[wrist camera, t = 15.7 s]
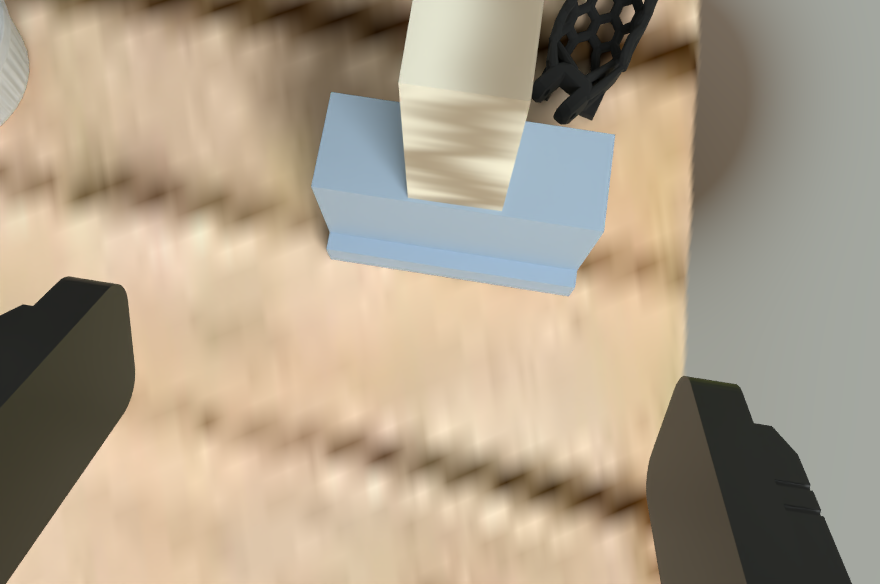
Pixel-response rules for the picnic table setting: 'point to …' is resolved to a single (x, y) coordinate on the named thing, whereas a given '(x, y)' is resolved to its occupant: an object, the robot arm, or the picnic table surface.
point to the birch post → (466, 97)
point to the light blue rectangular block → (454, 226)
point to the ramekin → (11, 65)
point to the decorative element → (594, 84)
